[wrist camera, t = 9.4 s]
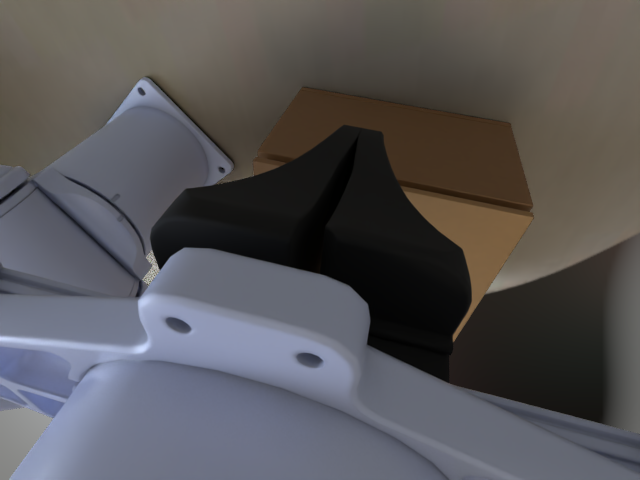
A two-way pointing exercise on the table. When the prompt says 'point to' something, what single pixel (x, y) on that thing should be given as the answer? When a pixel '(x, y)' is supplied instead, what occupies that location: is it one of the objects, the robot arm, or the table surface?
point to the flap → (474, 234)
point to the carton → (409, 145)
